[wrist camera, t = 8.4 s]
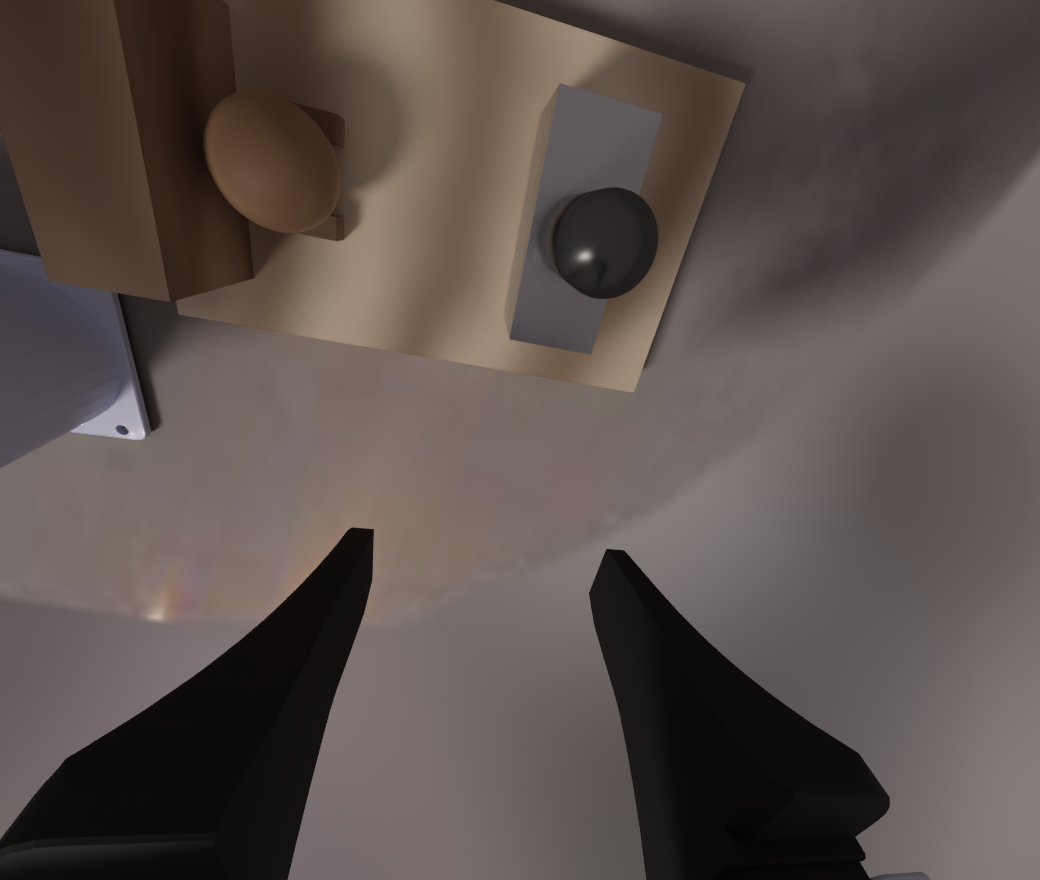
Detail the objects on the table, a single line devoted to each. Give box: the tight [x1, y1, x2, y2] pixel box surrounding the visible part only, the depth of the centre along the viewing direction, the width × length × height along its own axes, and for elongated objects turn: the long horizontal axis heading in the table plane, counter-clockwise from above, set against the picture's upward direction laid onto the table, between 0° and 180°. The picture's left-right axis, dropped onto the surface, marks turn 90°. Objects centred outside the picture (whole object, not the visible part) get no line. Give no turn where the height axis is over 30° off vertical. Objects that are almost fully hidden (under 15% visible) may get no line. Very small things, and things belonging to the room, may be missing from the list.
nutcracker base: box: [0, 0, 746, 393], centre depth 14 cm, size 20×12×6 cm, turn 78°
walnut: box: [203, 91, 341, 233], centre depth 13 cm, size 4×4×4 cm
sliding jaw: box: [504, 83, 662, 355], centre depth 13 cm, size 3×7×8 cm, turn 168°
